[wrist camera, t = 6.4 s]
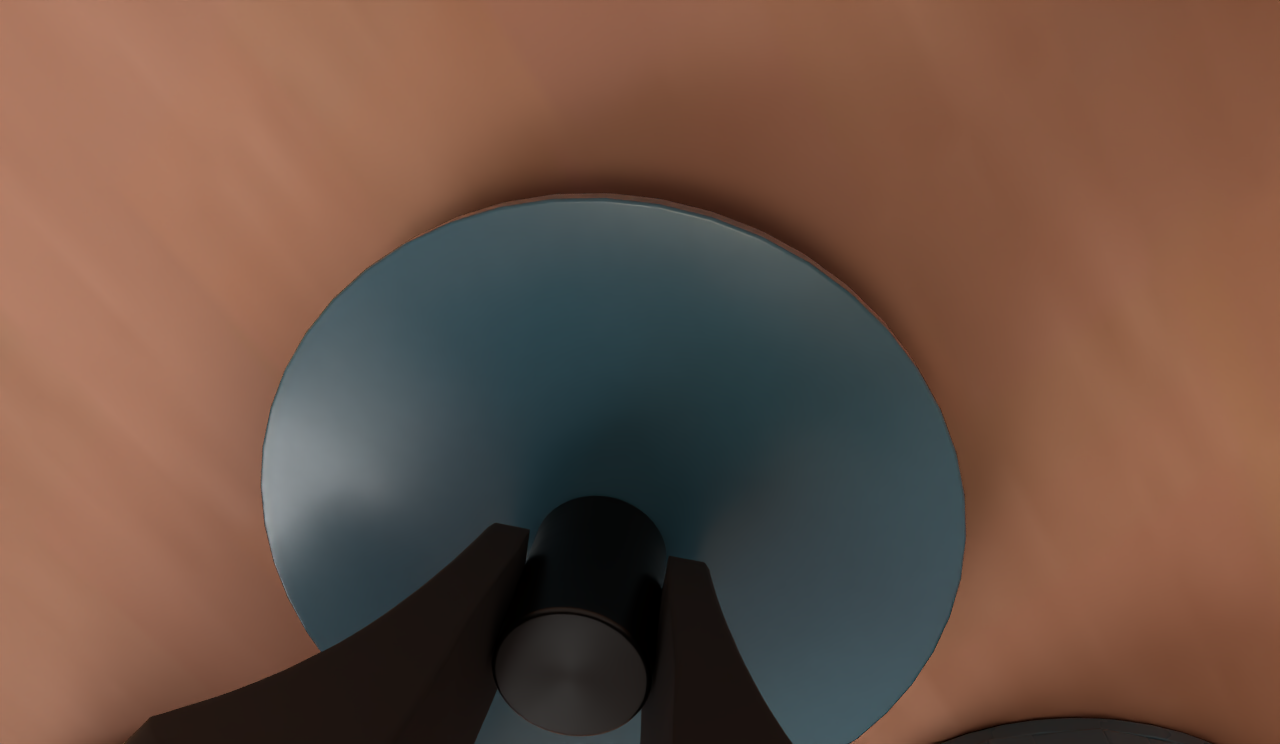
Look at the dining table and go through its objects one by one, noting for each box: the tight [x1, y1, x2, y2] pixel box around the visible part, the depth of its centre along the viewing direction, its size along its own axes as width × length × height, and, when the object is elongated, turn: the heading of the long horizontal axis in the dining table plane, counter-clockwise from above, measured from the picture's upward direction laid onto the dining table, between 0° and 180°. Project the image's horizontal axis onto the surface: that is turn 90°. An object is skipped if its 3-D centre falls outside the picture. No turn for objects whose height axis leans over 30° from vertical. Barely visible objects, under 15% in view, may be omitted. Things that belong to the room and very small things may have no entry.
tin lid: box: [261, 193, 966, 744], centre depth 14 cm, size 13×13×4 cm
